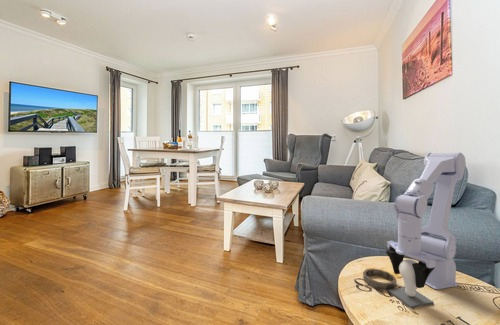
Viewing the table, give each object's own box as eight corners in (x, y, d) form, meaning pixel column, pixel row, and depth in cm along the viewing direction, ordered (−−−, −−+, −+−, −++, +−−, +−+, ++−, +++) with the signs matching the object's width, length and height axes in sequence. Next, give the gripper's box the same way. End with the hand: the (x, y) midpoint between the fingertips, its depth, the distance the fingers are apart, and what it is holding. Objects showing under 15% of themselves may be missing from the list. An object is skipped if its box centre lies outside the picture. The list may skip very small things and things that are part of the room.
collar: (380, 272, 85) (380, 267, 85) (402, 287, 76) (403, 281, 76) (357, 276, 83) (357, 270, 83) (377, 291, 74) (377, 285, 74)
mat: (409, 288, 75) (409, 286, 75) (433, 303, 68) (433, 301, 68) (388, 291, 74) (388, 289, 74) (410, 308, 66) (410, 306, 66)
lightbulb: (427, 303, 67) (428, 266, 66) (404, 301, 68) (405, 265, 67) (415, 290, 73) (416, 256, 72) (394, 289, 74) (395, 255, 73)
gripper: (379, 228, 76) (378, 269, 76) (420, 246, 62) (419, 296, 62) (397, 227, 77) (396, 267, 78) (442, 243, 63) (440, 292, 64)
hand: (408, 279), depth 70 cm, fingers open, 7 cm apart
